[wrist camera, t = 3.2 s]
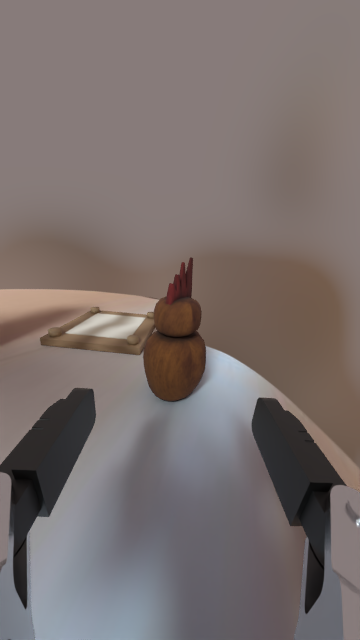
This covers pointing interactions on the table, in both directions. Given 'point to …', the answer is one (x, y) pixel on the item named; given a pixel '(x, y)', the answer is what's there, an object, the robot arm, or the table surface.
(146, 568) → the table surface
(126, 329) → the base plate
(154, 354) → the wooden figurine
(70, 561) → the table surface
